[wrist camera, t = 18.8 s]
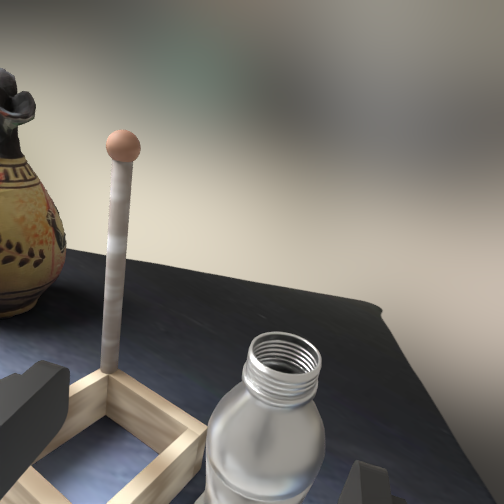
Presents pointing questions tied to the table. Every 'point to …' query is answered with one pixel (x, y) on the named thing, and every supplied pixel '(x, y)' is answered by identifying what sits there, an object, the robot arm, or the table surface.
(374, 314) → the table surface
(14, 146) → the ceramic jug
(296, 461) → the plastic bottle
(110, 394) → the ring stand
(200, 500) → the white square plate
